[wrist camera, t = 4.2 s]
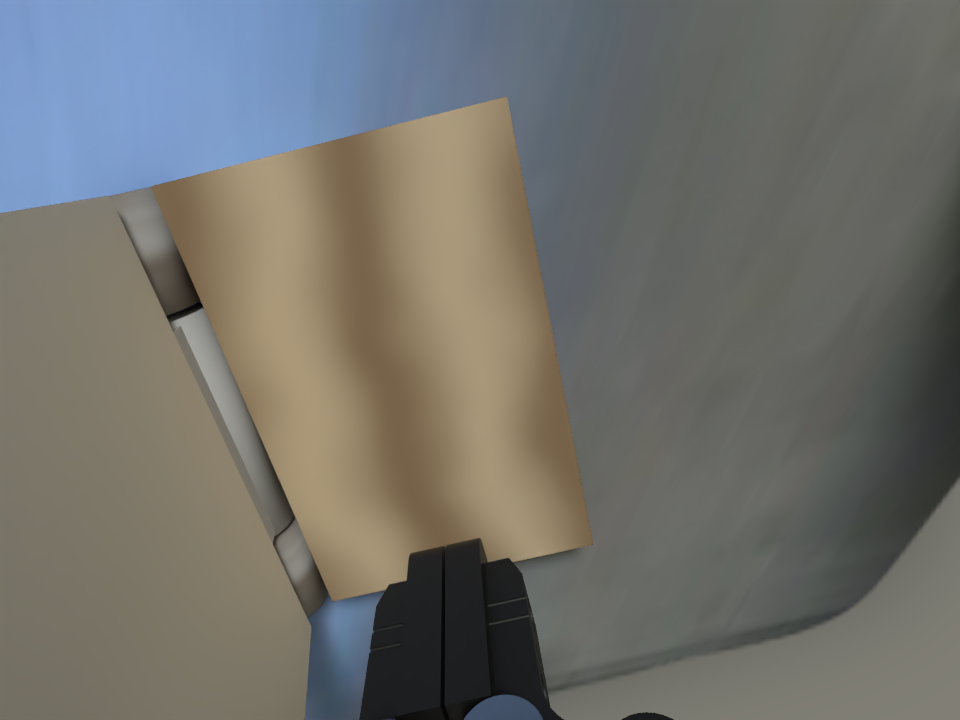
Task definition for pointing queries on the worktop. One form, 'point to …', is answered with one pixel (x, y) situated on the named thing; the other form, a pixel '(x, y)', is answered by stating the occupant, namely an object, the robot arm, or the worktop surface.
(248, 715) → the hinge leaf
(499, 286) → the fixed leaf
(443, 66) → the worktop surface
